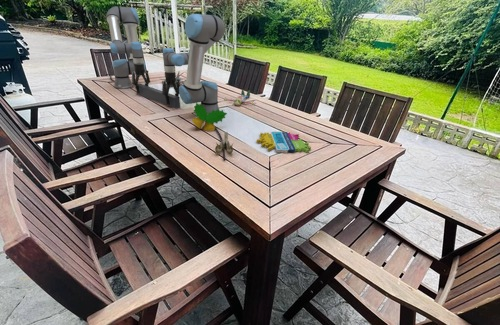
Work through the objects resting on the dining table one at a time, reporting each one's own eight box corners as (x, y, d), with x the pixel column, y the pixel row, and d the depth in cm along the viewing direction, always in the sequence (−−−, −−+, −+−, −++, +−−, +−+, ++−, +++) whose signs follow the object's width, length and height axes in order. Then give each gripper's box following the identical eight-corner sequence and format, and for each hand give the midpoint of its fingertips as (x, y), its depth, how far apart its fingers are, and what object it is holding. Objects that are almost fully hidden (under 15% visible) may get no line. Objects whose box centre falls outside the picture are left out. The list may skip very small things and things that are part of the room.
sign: (313, 150, 142) (258, 149, 139) (312, 153, 143) (258, 152, 140) (301, 132, 164) (254, 130, 161) (301, 134, 165) (254, 133, 162)
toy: (261, 91, 228) (254, 99, 202) (261, 99, 231) (253, 108, 205) (231, 87, 233) (220, 95, 207) (230, 95, 236) (219, 104, 210)
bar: (180, 107, 197) (179, 96, 193) (175, 108, 194) (174, 97, 190) (141, 93, 224) (140, 83, 220) (136, 94, 220) (135, 84, 216)
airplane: (153, 81, 261) (151, 71, 256) (184, 80, 275) (183, 70, 270) (160, 92, 233) (159, 80, 228) (195, 89, 246) (194, 78, 241)
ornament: (218, 133, 171) (224, 110, 169) (221, 134, 163) (227, 111, 161) (186, 125, 162) (192, 101, 160) (189, 126, 155) (195, 101, 153)
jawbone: (234, 135, 144) (233, 125, 135) (233, 160, 138) (232, 151, 129) (217, 135, 144) (216, 125, 135) (216, 160, 138) (214, 150, 129)
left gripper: (147, 61, 216) (150, 89, 227) (124, 63, 201) (128, 93, 213) (152, 63, 212) (156, 91, 223) (129, 65, 197) (133, 95, 209)
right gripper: (178, 69, 195) (180, 99, 206) (154, 72, 181) (158, 104, 192) (184, 71, 191) (186, 101, 202) (161, 74, 177) (164, 107, 188)
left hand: (142, 92), depth 218 cm, fingers open, 7 cm apart
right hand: (172, 103), depth 197 cm, fingers open, 7 cm apart
